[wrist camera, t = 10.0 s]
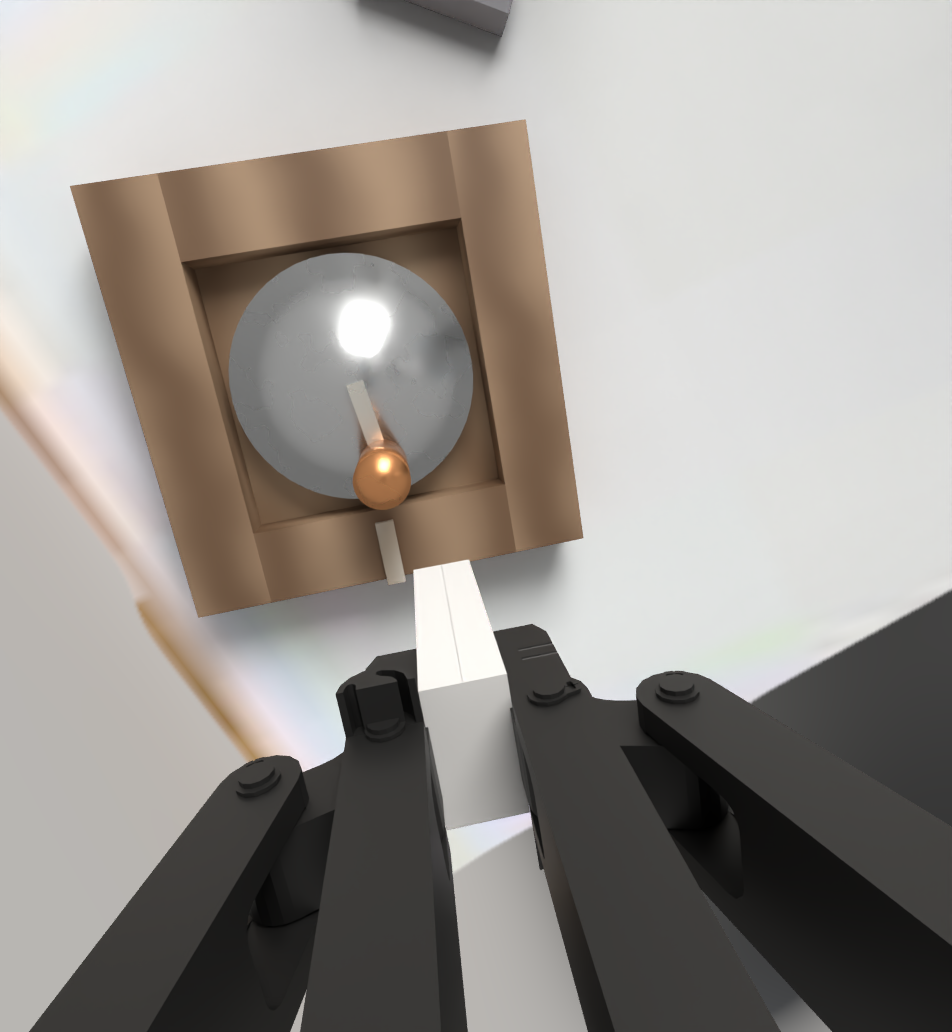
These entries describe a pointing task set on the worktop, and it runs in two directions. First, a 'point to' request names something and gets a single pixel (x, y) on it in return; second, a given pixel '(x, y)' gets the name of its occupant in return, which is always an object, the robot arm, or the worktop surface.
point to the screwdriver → (472, 12)
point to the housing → (272, 249)
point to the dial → (351, 377)
